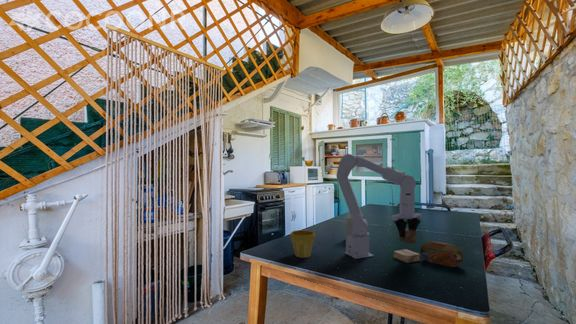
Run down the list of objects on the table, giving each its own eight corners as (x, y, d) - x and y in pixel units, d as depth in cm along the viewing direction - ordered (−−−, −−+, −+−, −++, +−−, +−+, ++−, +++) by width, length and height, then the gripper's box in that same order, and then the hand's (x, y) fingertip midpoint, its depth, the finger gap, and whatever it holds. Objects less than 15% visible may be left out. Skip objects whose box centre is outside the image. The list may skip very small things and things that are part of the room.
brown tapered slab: (420, 260, 111) (420, 239, 111) (422, 258, 114) (422, 238, 114) (462, 269, 101) (462, 247, 101) (464, 267, 104) (464, 245, 104)
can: (356, 243, 134) (356, 219, 134) (342, 241, 139) (342, 217, 139) (362, 240, 140) (362, 217, 140) (348, 237, 145) (349, 215, 145)
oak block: (407, 263, 108) (407, 256, 108) (393, 258, 114) (393, 251, 114) (419, 261, 111) (419, 254, 111) (405, 256, 117) (405, 249, 117)
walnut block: (407, 243, 109) (407, 231, 109) (399, 240, 113) (399, 228, 113) (416, 242, 110) (416, 230, 110) (407, 239, 115) (407, 228, 115)
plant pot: (297, 250, 123) (297, 228, 123) (318, 254, 118) (318, 231, 118) (286, 256, 114) (286, 233, 114) (308, 261, 109) (308, 236, 109)
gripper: (400, 206, 106) (400, 240, 106) (428, 204, 111) (428, 237, 111) (388, 203, 113) (387, 236, 112) (414, 202, 118) (414, 233, 118)
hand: (406, 236), depth 112 cm, fingers closed on walnut block, 4 cm apart
